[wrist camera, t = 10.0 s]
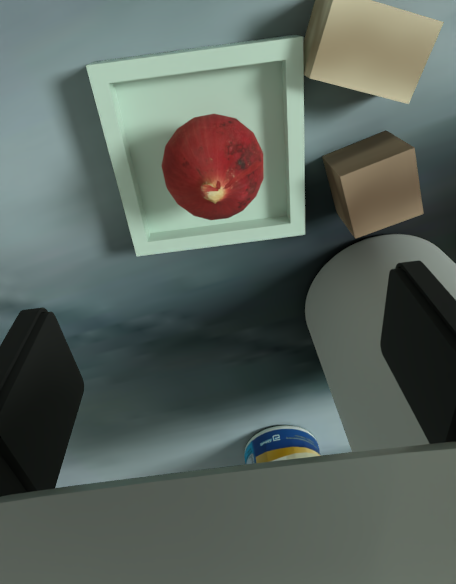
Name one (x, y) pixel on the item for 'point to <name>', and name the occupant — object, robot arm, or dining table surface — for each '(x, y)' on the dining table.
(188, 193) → the red round fruit
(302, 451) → the beverage bottle
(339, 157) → the walnut block
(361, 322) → the cylinder vase
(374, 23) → the beech block
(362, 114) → the dining table surface
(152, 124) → the dish
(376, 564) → the robot arm
